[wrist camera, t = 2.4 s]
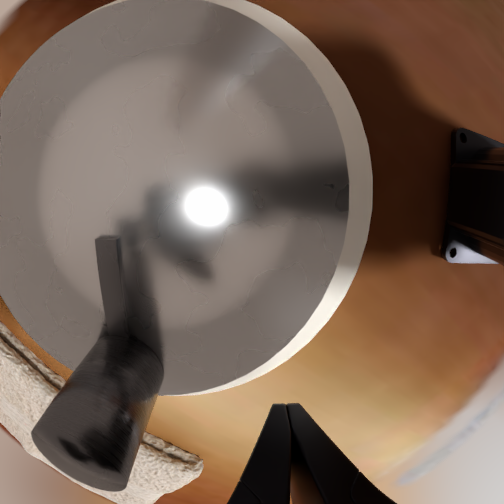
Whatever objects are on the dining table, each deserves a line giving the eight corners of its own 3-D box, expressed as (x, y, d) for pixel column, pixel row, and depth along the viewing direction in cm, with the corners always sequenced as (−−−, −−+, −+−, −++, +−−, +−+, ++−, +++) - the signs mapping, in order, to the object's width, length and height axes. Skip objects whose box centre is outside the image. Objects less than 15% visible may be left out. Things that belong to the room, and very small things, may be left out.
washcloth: (-6, 305, 13) (-34, 324, 10) (213, 452, 16) (209, 487, 13) (-9, 390, 16) (-25, 408, 13) (150, 494, 19) (144, 518, 16)
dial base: (356, 15, 9) (369, -3, 7) (329, 380, 14) (338, 403, 12) (14, 52, 9) (-5, 45, 7) (30, 349, 14) (16, 364, 12)
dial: (8, 61, 8) (-83, 38, 1) (335, 17, 8) (406, -87, 2) (25, 346, 12) (-41, 416, 5) (311, 379, 12) (344, 505, 6)
